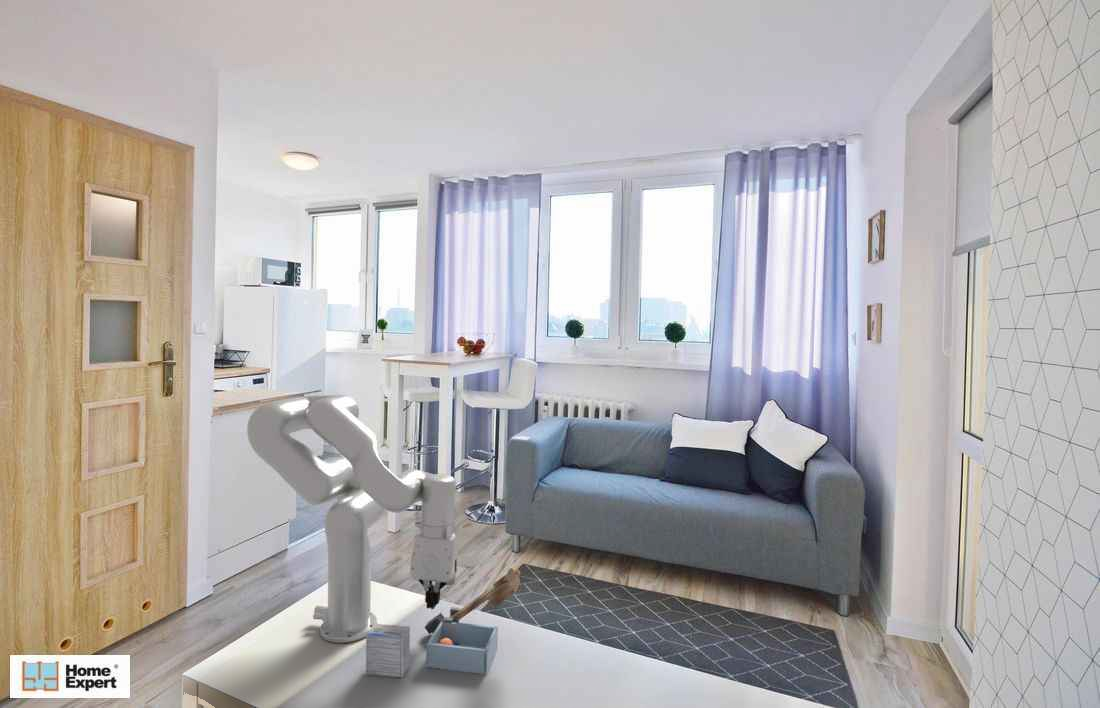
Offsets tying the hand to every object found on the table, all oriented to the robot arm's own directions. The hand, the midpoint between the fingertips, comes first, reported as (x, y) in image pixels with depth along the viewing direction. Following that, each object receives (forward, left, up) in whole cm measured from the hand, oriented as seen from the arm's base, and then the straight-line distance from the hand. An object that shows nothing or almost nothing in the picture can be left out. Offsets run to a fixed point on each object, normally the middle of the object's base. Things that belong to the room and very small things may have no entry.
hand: (432, 605), depth 123 cm
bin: (+10, -7, -7) cm, 14 cm away
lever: (+11, -4, +1) cm, 12 cm away
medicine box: (-4, -14, -7) cm, 16 cm away
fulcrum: (+5, 0, -7) cm, 9 cm away
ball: (+6, -7, -3) cm, 10 cm away
